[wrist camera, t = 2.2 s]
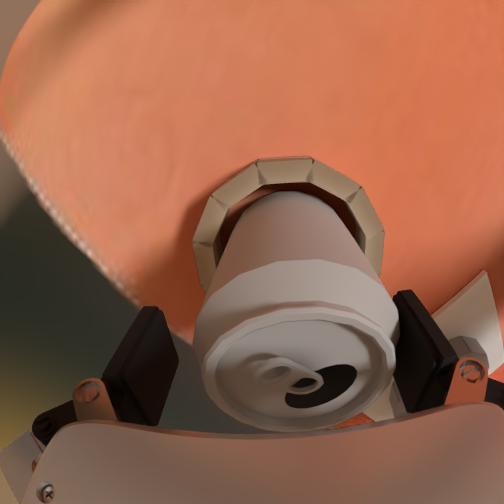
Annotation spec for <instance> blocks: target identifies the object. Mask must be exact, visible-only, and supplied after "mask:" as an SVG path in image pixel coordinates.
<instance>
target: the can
mask: <svg viewBox="0 0 504 504" xmlns="http://www.w3.org/2000/svg"><path fill="white" fill-rule="evenodd" d="M399 336H400V326H399V317H398V309H397V308H396V306H395V304H394V302H393V301H392V299H391V297H390V295H389V294H388V292H387V290H386V289H385V287H384V285H383V284H382V282H381V280H380V279H379V277H378V275H377V274H376V272H375V271H374V269H373V267H372V266H371V264H370V263H369V261H368V260H367V258H366V256H365V255H364V253H363V252H362V250H361V249H360V247H359V246H358V244H357V243H356V241H355V240H354V238H353V237H352V235H351V234H350V232H349V231H348V229H347V228H346V226H345V225H344V224H343V222H342V221H341V219H340V218H339V217H338V215H337V214H336V213H335V211H334V210H333V209H332V207H331V206H330V205H328V204H327V203H325V202H324V201H322V200H321V199H319V198H318V197H316V196H314V195H310V194H307V193H303V192H299V191H282V192H275V193H272V194H270V195H267V196H265V197H262V198H260V199H258V200H257V201H255V202H254V203H253V204H252V205H251V206H249V207H248V208H247V209H246V210H245V211H244V212H243V213H242V215H241V217H240V218H239V220H238V222H237V223H236V225H235V227H234V229H233V231H232V234H231V236H230V238H229V241H228V243H227V245H226V248H225V250H224V253H223V255H222V257H221V260H220V262H219V265H218V267H217V269H216V272H215V274H214V277H213V279H212V281H211V284H210V286H209V289H208V291H207V294H206V296H205V299H204V301H203V304H202V306H201V309H200V311H199V314H198V316H197V319H196V324H195V331H194V338H193V346H194V350H195V353H196V356H197V360H198V363H199V366H200V367H201V369H202V376H201V377H202V380H203V383H204V386H205V389H206V391H207V394H208V395H209V397H210V398H211V399H212V400H213V401H214V402H215V404H216V405H217V406H218V407H219V408H220V409H221V410H222V411H223V412H225V413H227V414H228V415H230V416H231V417H233V418H235V419H236V420H238V421H240V422H242V423H245V424H248V425H251V426H253V427H257V428H260V429H264V430H270V431H278V432H306V431H314V430H318V429H322V428H327V427H331V426H335V425H337V424H339V423H342V422H344V421H346V420H349V419H351V418H353V417H355V416H357V415H358V414H360V413H361V412H363V411H364V410H365V409H367V408H368V407H370V406H371V405H372V404H374V403H375V402H376V400H377V399H378V398H379V397H380V396H381V394H382V393H383V392H384V391H385V390H386V388H387V387H388V386H389V384H390V382H391V379H392V376H393V373H394V371H395V368H396V359H395V350H396V347H397V343H398V340H399Z"/></svg>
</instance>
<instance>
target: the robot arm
mask: <svg viewBox="0 0 504 504" xmlns="http://www.w3.org/2000/svg"><path fill="white" fill-rule="evenodd" d="M392 301H393V302H394V304H395V306H396V308H397V309H398V317H399V326H400V336H399V340H398V343H397V347H396V350H395V359H396V368H395V371H394V373H393V377H394V380H395V382H396V385H397V388H398V390H399V393H400V395H401V398H402V401H403V403H404V406H405V409H406V411H407V413H411V414H408V415H404V416H399V417H395V418H390V419H386V420H381V421H377V422H371V423H366V424H361V425H355V426H348V427H342V428H334V429H326V430H318V431H307V432H293V433H277V434H276V433H273V434H228V433H227V434H226V433H208V432H195V431H185V430H176V429H167V428H159V427H154V426H157V425H158V423H159V420H160V417H161V414H162V411H163V408H164V405H165V402H166V399H167V396H168V393H169V390H170V387H171V384H172V381H173V378H174V375H175V372H176V369H177V366H178V362H179V360H178V355H177V352H176V350H175V347H174V344H173V341H172V338H171V335H170V332H169V329H168V326H167V323H166V320H165V317H164V313H163V311H162V310H159V308H158V307H157V306H145V307H143V308H142V309H141V311H140V313H139V314H138V316H137V317H136V319H135V321H134V322H133V324H132V325H131V327H130V329H129V330H128V332H127V334H126V335H125V337H124V339H123V340H122V342H121V344H120V345H119V347H118V349H117V350H116V352H115V354H114V355H113V357H112V359H111V360H110V362H109V364H108V366H107V367H106V369H105V371H104V373H103V377H102V378H101V380H99V379H96V378H89V379H85V380H83V381H81V382H80V383H79V384H77V385H76V387H75V388H74V390H73V393H72V399H73V400H71V401H69V402H67V403H64V404H62V405H60V406H58V407H55V408H53V409H51V410H49V411H46V412H44V413H42V414H40V415H39V416H38V417H37V418H36V419H35V420H34V422H33V426H32V432H30V431H29V430H28V431H26V432H25V433H24V434H22V435H21V436H20V437H18V438H17V439H16V440H14V441H13V442H12V443H11V444H9V445H8V446H7V447H5V448H4V449H3V450H2V451H1V453H0V467H1V469H2V471H3V473H4V475H5V477H6V480H7V482H8V483H9V485H10V487H11V489H12V491H13V493H14V495H15V497H16V498H17V500H18V502H19V504H504V383H502V382H499V381H496V380H493V379H491V378H488V370H487V367H486V366H485V364H484V363H483V362H482V361H480V360H479V359H476V358H473V357H465V358H463V359H461V360H459V358H458V356H457V354H456V352H455V350H454V349H453V347H452V346H451V344H450V343H449V341H448V340H447V338H446V337H445V335H444V334H443V332H442V331H441V329H440V328H439V326H438V325H437V324H436V322H435V321H434V319H433V318H432V317H431V315H430V314H429V312H428V311H427V310H426V308H425V307H424V305H423V304H422V303H421V301H420V300H419V299H418V297H417V296H416V295H415V293H414V292H413V291H412V290H403V291H398V292H397V294H396V295H394V296H393V300H392Z"/></svg>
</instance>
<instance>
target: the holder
mask: <svg viewBox="0 0 504 504" xmlns="http://www.w3.org/2000/svg"><path fill="white" fill-rule="evenodd" d="M431 317H432V318H433V319H434V321H435V322H436V324H437V325H438V326H439V328H440V329H441V331H442V332H443V334H444V335H445V337H446V338H447V340H448V341H449V343H450V344H451V346H452V347H453V349H454V350H455V352H456V354H457V356H458V358H459V360H461V359H463V358H465V357H473V358H476V359H479V360H480V361H482V362H483V363H484V364H485V366H486V367H487V370H488V376H489V375H490V374H491V373H492V372H494V371H495V370H496V369H497V368H498V367H499V366H500V365H502V364H503V363H504V349H503V342H502V336H501V330H500V325H499V319H498V315H497V310H496V305H495V301H494V297H493V293H492V289H491V286H490V282H489V278H488V275H487V272H486V271H485V270H482V271H481V272H480V273H479V274H478V275H477V276H476V277H475V278H474V279H473V280H472V281H471V282H469V283H468V284H467V285H466V286H465V287H464V288H463V289H462V290H461V291H459V292H458V293H457V294H456V295H455V296H454V297H452V298H451V299H450V300H449V301H448V302H447V303H445V304H444V305H443V306H442V307H440V308H439V309H438V310H437V311H435V312H434V313H433V314H432V315H431ZM363 413H364V414H365V415H367V416H368V417H369V418H371V419H372V420H374V421H375V422H377V421H381V420H386V419H390V418H395V417H399V416H404V415H408V414H411V413H407V411H406V409H405V406H404V403H403V401H402V398H401V395H400V393H399V390H398V388H397V385H396V382H395V380H394V377H393V376H392V379H391V382H390V384H389V386H388V387H387V388H386V390H385V391H384V392H383V393H382V394H381V396H380V397H379V398H378V399H377V400H376V402H375V403H374V404H372V405H371V406H370V407H368V408H367V409H365V410H364V411H363Z"/></svg>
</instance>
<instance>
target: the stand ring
mask: <svg viewBox="0 0 504 504" xmlns="http://www.w3.org/2000/svg"><path fill="white" fill-rule="evenodd" d="M294 182H310V183H312V184H314V185H316V186H318V187H320V188H322V189H324V190H326V191H328V192H330V193H331V194H333V195H335V196H337V197H339V198H341V199H342V201H343V202H344V204H345V206H346V207H347V209H348V211H349V213H350V214H351V216H352V218H353V220H354V222H355V241H356V243H357V244H358V246H359V247H360V249H361V250H362V252H363V253H364V255H365V256H366V258H367V260H368V261H369V263H370V264H371V266H372V267H373V269H374V271H375V272H376V274H377V275H378V277H379V275H381V267H382V258H383V248H384V236H385V231H384V227H383V225H382V223H381V221H380V219H379V217H378V215H377V213H376V211H375V209H374V208H373V206H372V204H371V202H370V200H369V198H368V196H367V194H366V192H365V191H364V189H363V187H361V185H359V184H358V183H356V182H355V181H353V180H352V179H350V178H349V177H347V176H345V175H343V174H342V173H340V172H338V171H336V170H334V169H333V168H331V167H329V166H327V165H325V164H323V163H321V162H320V161H318V160H316V159H314V158H312V157H310V156H309V157H308V156H291V157H275V158H261V159H259V160H256V161H254V162H253V163H251V164H250V165H249V166H247V167H246V168H244V169H243V170H241V171H240V172H238V173H237V174H236V175H234V176H233V177H231V178H230V179H229V180H227V181H226V182H224V183H223V184H222V185H220V186H219V187H218V188H217V189H216V190H215V191H214V192H213V193H212V194H211V196H210V197H209V199H208V202H207V204H206V207H205V209H204V211H203V214H202V216H201V219H200V222H199V224H198V227H197V229H196V232H195V234H194V237H193V239H192V241H193V242H192V245H193V251H194V256H195V261H196V266H197V271H198V276H199V281H200V285H202V288H203V289H204V291H205V292H206V293H207V291H208V289H209V286H210V284H211V281H212V279H213V277H214V274H215V272H216V269H217V267H218V265H219V262H220V260H221V257H222V255H223V248H222V241H221V234H220V230H221V227H222V225H223V223H224V220H225V218H226V216H227V214H228V211H229V209H230V207H231V206H233V205H234V204H236V203H237V202H239V201H240V200H241V199H243V198H244V197H246V196H247V195H249V194H250V193H252V192H253V191H255V190H256V189H258V188H259V187H261V186H262V185H264V184H277V183H294ZM379 278H380V277H379Z"/></svg>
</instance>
